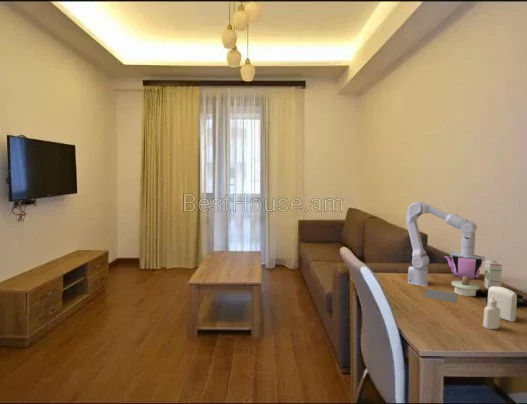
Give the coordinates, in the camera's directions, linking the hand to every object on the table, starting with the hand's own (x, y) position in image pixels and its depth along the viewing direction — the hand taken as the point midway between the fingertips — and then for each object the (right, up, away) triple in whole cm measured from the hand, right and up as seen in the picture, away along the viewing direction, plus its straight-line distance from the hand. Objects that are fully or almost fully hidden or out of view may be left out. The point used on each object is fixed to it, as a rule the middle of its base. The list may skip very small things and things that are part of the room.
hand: (466, 273), depth 166 cm
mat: (-14, -10, -3) cm, 18 cm away
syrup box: (+18, -10, +8) cm, 23 cm away
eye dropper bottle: (-12, -13, -36) cm, 40 cm away
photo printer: (-1, -13, -26) cm, 29 cm away
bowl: (0, -10, +1) cm, 10 cm away
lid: (0, -6, 0) cm, 6 cm away
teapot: (+15, -8, +30) cm, 35 cm away
